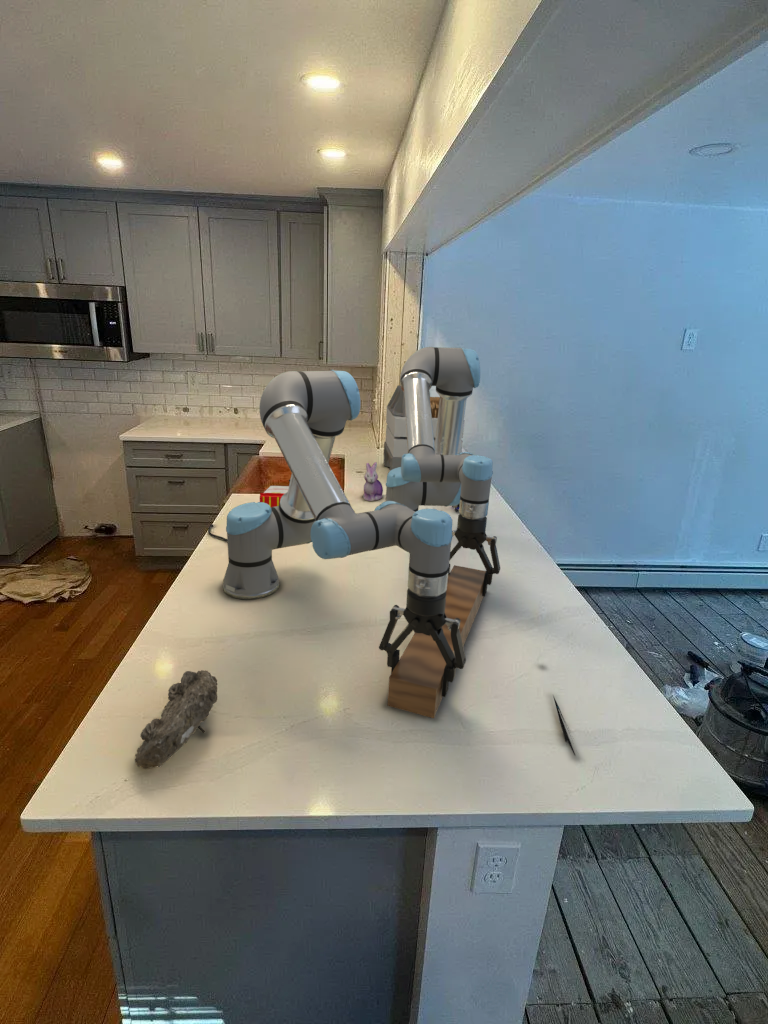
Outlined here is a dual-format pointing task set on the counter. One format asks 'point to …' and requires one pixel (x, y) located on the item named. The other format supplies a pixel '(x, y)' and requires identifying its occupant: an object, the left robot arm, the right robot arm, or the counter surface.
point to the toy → (273, 495)
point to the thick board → (435, 648)
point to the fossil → (178, 718)
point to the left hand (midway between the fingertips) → (419, 686)
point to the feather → (563, 726)
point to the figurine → (372, 484)
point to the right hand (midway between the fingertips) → (464, 590)
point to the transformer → (402, 428)
